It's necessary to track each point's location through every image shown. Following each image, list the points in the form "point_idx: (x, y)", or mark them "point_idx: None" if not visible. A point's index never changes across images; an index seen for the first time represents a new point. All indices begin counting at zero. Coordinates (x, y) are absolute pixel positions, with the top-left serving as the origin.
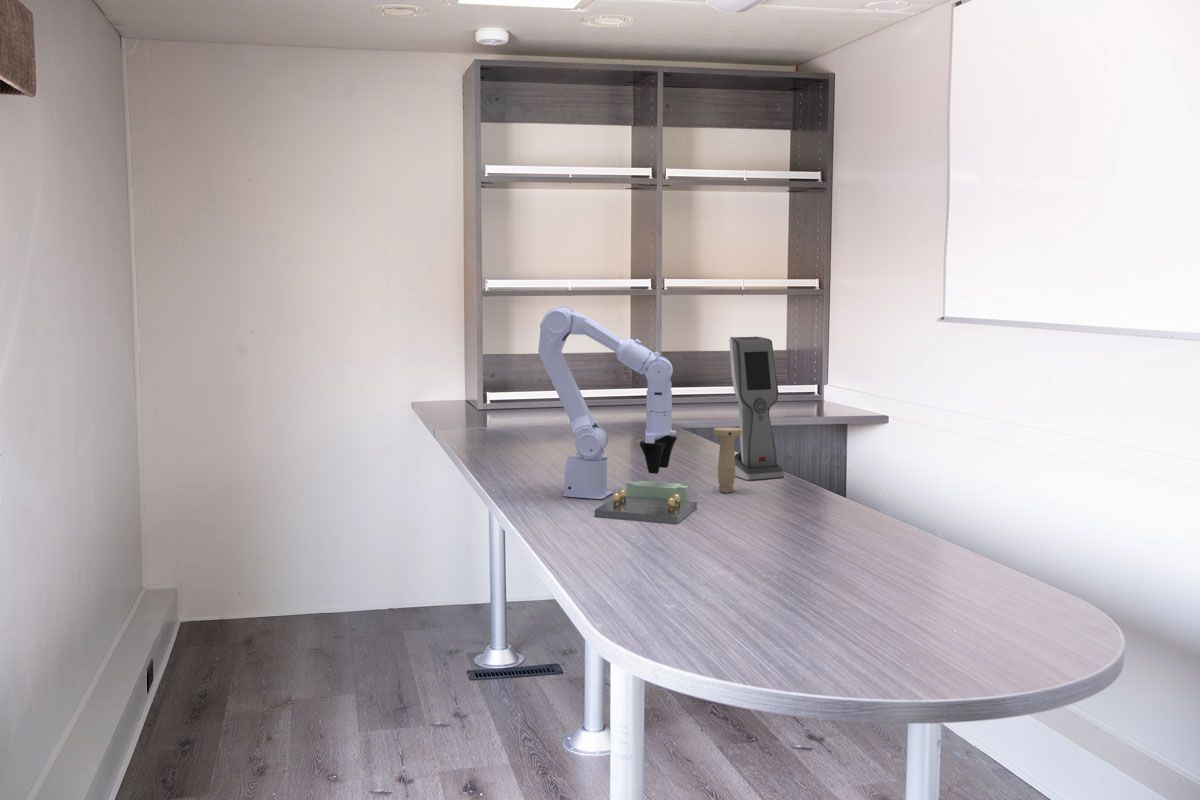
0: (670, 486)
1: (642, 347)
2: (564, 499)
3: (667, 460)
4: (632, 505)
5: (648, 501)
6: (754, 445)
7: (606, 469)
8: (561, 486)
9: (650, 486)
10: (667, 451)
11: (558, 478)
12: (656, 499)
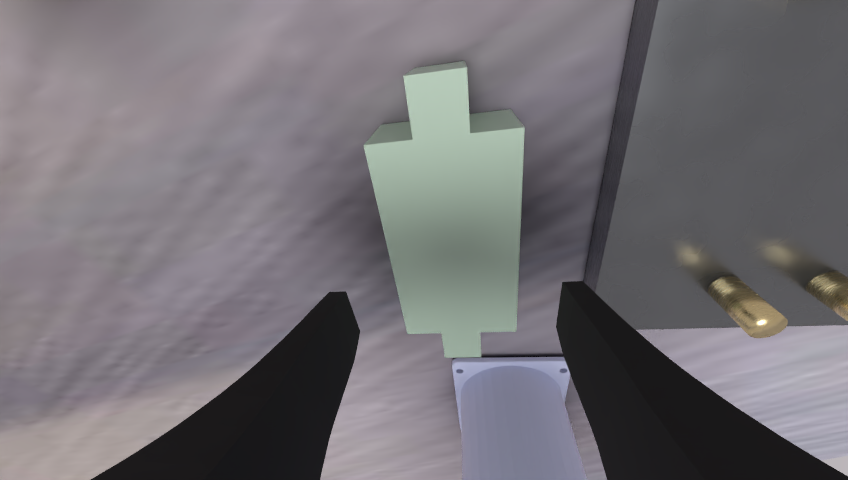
0: (474, 179)
1: None
2: (586, 418)
3: (326, 327)
4: (839, 225)
5: (718, 191)
6: None
7: (523, 461)
8: (428, 449)
9: (517, 266)
10: (291, 398)
11: (351, 466)
12: (652, 174)
